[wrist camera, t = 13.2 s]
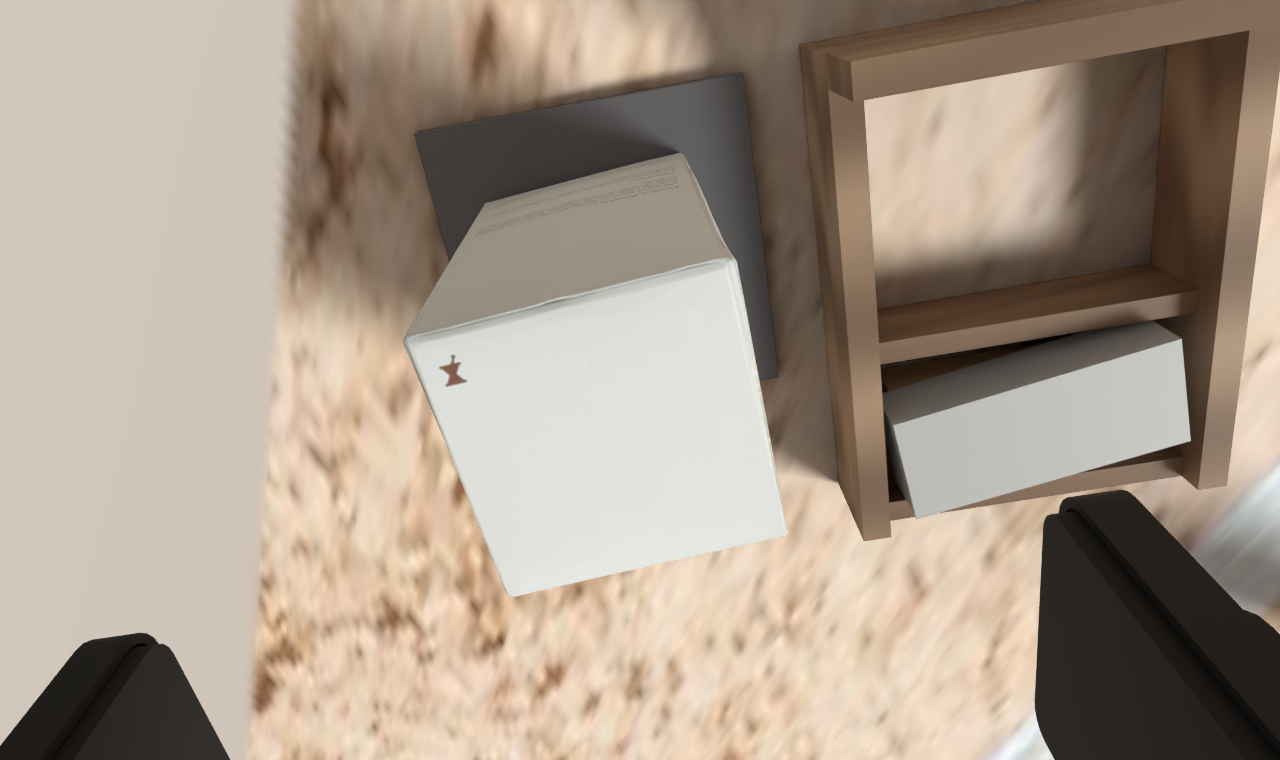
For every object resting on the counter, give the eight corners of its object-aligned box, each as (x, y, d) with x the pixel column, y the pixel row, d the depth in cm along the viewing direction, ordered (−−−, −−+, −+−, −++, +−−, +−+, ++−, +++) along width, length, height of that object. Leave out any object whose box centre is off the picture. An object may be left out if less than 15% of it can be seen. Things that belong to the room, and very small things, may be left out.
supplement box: (540, 388, 33) (496, 607, 21) (480, 198, 30) (389, 332, 18) (732, 345, 32) (794, 546, 20) (690, 146, 29) (735, 250, 17)
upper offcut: (874, 395, 31) (893, 425, 29) (1141, 313, 30) (1181, 338, 28) (897, 484, 33) (916, 519, 31) (1152, 410, 32) (1190, 440, 30)
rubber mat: (418, 131, 29) (414, 134, 29) (740, 72, 29) (742, 73, 28) (496, 417, 34) (494, 423, 33) (776, 370, 33) (778, 377, 33)
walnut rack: (799, 44, 28) (850, 61, 22) (1204, -31, 28) (1379, -37, 21) (838, 484, 35) (886, 593, 29) (1162, 433, 34) (1285, 534, 28)
